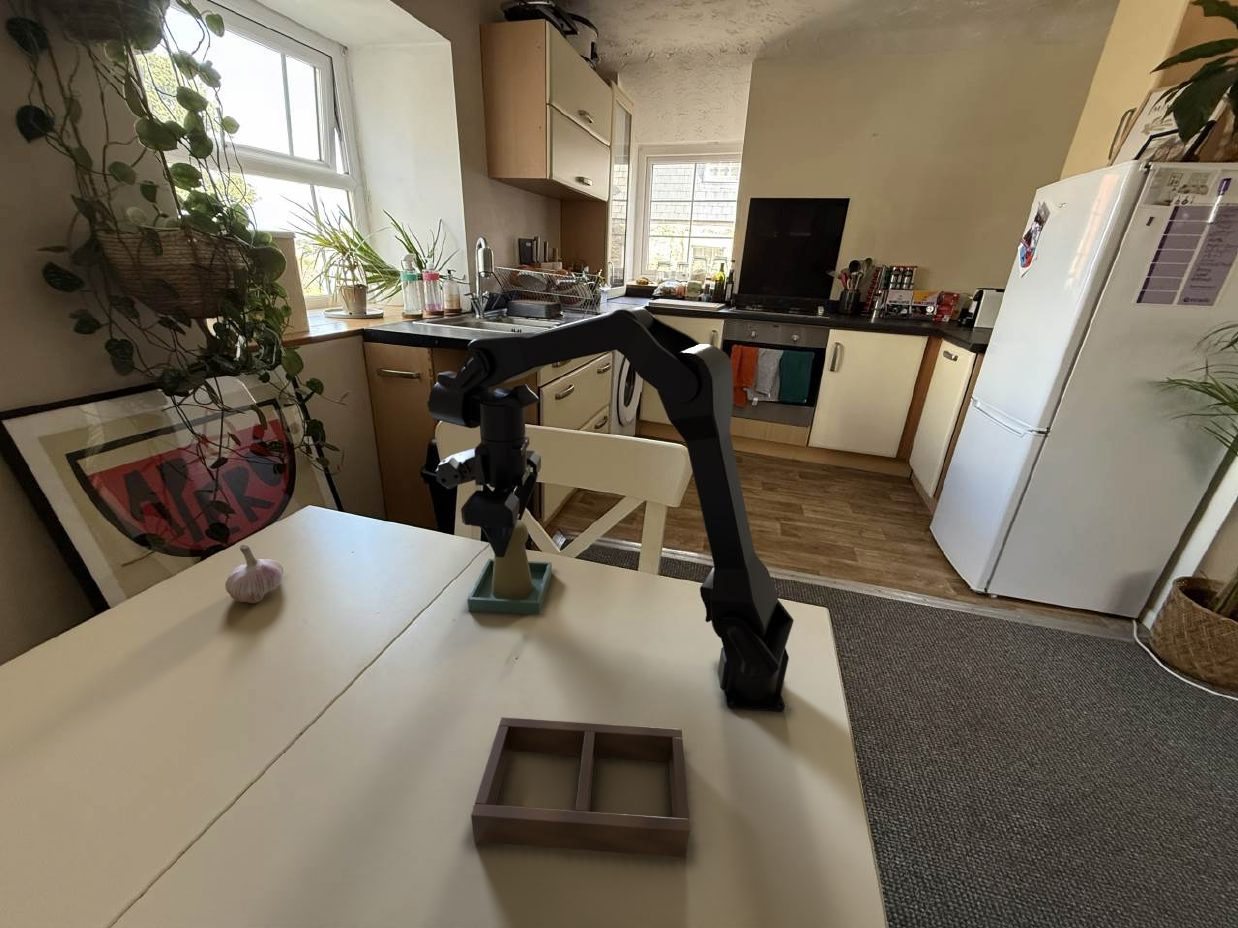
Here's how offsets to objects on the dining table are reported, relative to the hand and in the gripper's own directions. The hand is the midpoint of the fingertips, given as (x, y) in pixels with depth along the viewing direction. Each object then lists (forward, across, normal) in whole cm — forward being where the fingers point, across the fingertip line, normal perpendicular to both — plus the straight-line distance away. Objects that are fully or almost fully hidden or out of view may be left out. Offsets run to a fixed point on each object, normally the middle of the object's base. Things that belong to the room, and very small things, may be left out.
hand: (508, 538), depth 70 cm
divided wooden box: (+9, +29, +14) cm, 34 cm away
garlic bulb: (+9, +4, -36) cm, 37 cm away
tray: (+9, 0, 0) cm, 9 cm away
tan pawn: (+9, 0, 0) cm, 9 cm away
